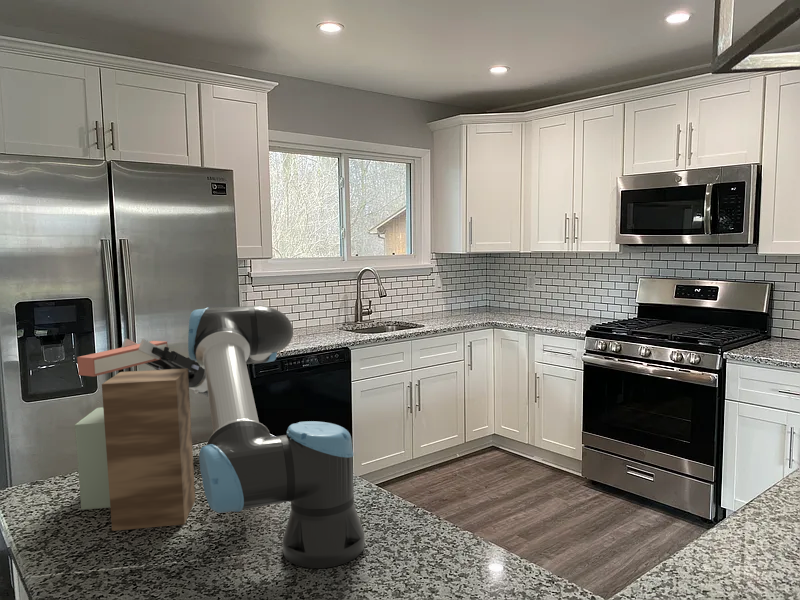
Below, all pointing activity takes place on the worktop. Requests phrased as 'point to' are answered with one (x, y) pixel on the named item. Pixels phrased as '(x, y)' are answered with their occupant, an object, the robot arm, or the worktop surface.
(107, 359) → the salmon pink bar
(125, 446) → the walnut block
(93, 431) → the sage step
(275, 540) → the worktop surface
